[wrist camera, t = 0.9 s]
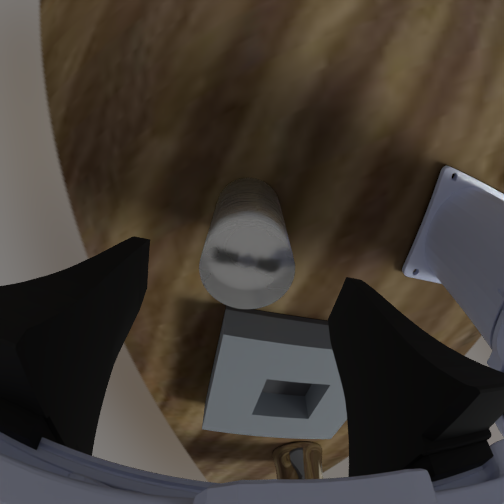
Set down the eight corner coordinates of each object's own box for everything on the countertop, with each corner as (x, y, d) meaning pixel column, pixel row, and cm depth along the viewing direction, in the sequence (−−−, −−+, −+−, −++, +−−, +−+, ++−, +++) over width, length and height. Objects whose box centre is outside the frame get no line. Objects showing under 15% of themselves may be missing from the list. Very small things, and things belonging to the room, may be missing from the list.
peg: (286, 185, 17) (306, 238, 11) (271, 241, 19) (280, 315, 13) (223, 172, 17) (207, 217, 11) (212, 229, 19) (193, 300, 12)
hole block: (381, 327, 22) (393, 354, 20) (325, 414, 28) (330, 438, 25) (226, 304, 21) (223, 334, 19) (205, 402, 27) (202, 429, 24)
